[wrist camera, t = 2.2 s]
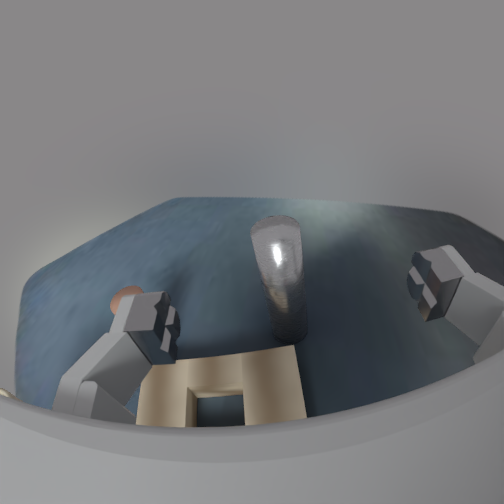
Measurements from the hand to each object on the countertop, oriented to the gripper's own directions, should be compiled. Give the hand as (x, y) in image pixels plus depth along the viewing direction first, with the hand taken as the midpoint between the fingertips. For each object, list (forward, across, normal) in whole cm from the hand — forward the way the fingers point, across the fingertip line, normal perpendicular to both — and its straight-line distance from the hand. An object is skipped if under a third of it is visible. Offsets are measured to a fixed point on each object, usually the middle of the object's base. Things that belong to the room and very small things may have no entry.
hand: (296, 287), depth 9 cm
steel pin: (+13, -1, +20) cm, 24 cm away
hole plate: (+3, +7, +21) cm, 22 cm away
